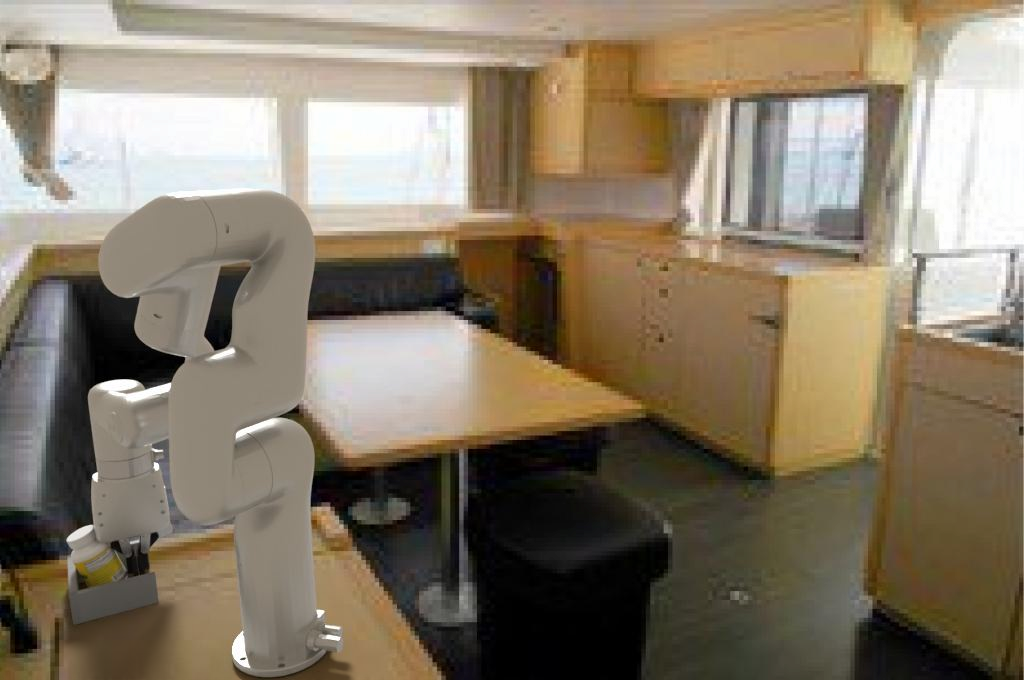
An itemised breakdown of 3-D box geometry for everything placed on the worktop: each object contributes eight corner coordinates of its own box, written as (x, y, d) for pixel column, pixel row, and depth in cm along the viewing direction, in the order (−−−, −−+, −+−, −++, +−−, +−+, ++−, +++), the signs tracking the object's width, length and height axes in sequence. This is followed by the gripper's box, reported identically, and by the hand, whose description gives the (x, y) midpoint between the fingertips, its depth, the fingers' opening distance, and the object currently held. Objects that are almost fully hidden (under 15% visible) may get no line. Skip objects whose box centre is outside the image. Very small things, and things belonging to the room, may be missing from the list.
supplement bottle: (92, 587, 117) (61, 535, 114) (128, 569, 119) (99, 517, 116) (93, 603, 112) (60, 549, 109) (130, 583, 114) (99, 529, 111)
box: (149, 563, 124) (145, 538, 122) (158, 602, 113) (155, 574, 112) (71, 582, 118) (67, 555, 117) (73, 625, 107) (68, 596, 106)
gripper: (176, 446, 120) (187, 552, 124) (66, 464, 112) (82, 576, 117) (183, 462, 113) (194, 573, 118) (67, 483, 106) (84, 600, 110)
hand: (138, 574), depth 117 cm, fingers closed
